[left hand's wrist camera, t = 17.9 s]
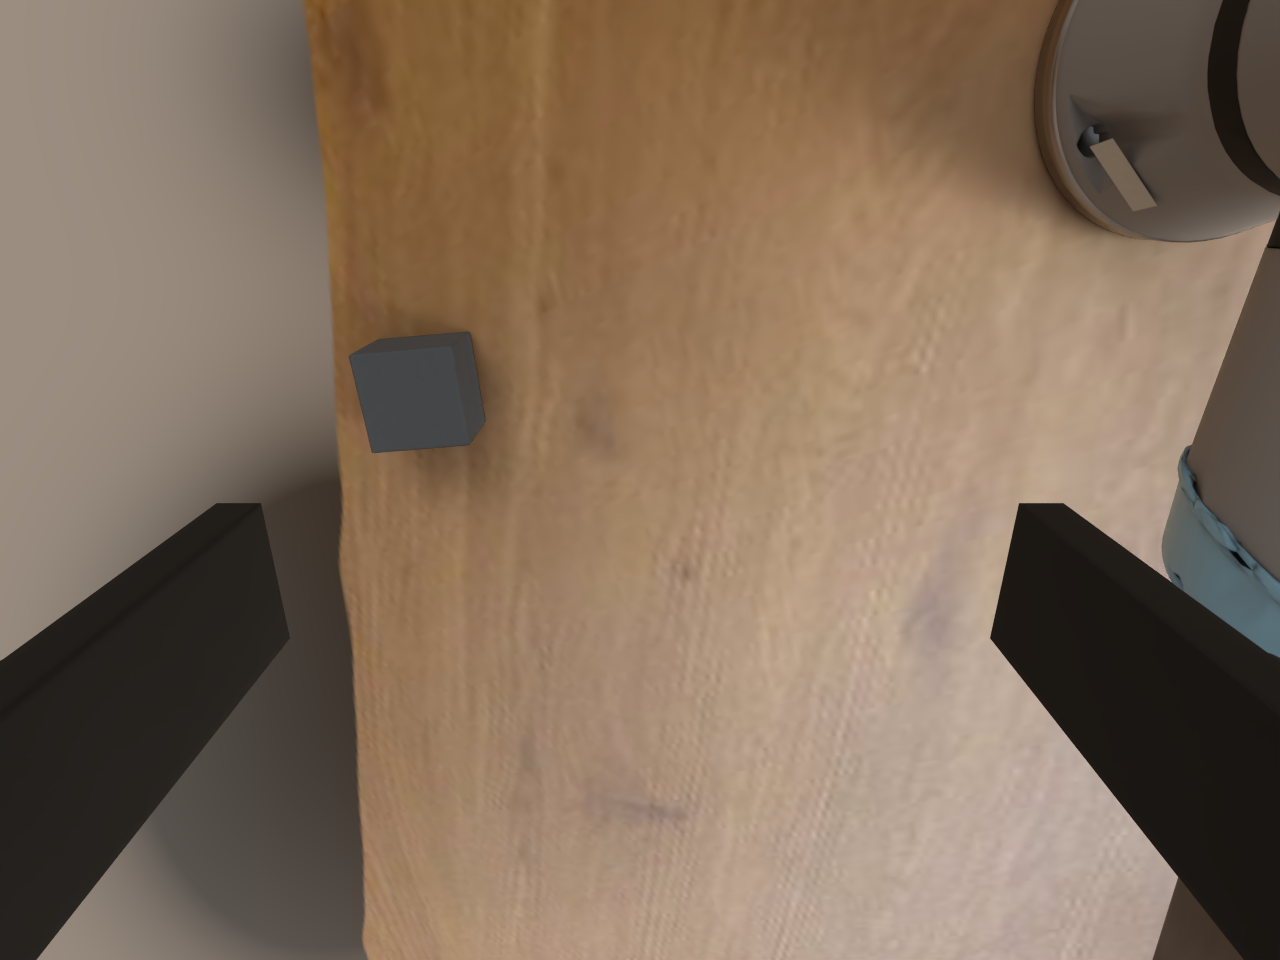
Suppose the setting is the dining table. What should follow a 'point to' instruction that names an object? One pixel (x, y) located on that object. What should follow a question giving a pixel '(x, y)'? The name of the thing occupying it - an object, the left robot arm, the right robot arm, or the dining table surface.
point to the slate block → (419, 392)
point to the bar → (1191, 932)
